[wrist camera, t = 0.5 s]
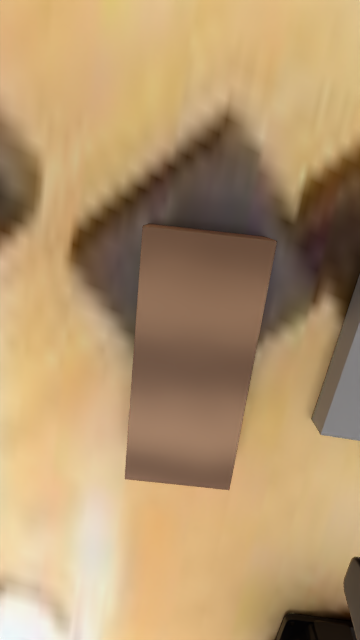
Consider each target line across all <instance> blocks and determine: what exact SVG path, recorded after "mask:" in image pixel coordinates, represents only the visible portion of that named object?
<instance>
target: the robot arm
mask: <svg viewBox="0 0 360 640" xmlns="http://www.w3.org/2000/svg"><path fill="white" fill-rule="evenodd" d="M344 592H345V596H346V600H347V604H348V607H349V611H350V615H351V619H352V622H350V621H343V620H335V619H328V618H321V617H313V616H306V615H299V614H287V615H286V616H285V617H284V619H283V622H282V625H281V627H280V630H279V632H278V635H277V638H276V640H360V557H354V558H352V560H351V562H350V565H349V567H348V570H347V573H346V576H345V578H344Z"/></svg>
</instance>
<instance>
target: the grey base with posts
mask: <svg viewBox="0 0 360 640" xmlns="http://www.w3.org/2000/svg"><path fill="white" fill-rule="evenodd" d="M312 421H313V423H314V424H315V426H316V428H317V429H318V431H319V433H320V434H321V435H326V436H332V437H339V438H345V439H352V440H358V441H360V275H359V278H358V281H357V284H356V287H355V290H354V293H353V296H352V299H351V302H350V305H349V308H348V311H347V314H346V317H345V320H344V323H343V326H342V329H341V332H340V335H339V338H338V341H337V344H336V347H335V350H334V353H333V356H332V359H331V362H330V365H329V368H328V371H327V374H326V377H325V380H324V383H323V386H322V389H321V392H320V395H319V398H318V401H317V404H316V407H315V411H314V414H313V417H312Z"/></svg>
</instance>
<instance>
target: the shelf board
mask: <svg viewBox="0 0 360 640" xmlns="http://www.w3.org/2000/svg"><path fill="white" fill-rule="evenodd" d="M276 244H277V241H275V240H272V239H270V238H267V237H263V236H255V235H246V234H237V233H228V232H219V231H210V230H201V229H192V228H183V227H175V226H166V225H157V224H147V225H144V226H143V230H142V244H141V258H140V272H139V286H138V300H137V314H136V328H135V342H134V356H133V370H132V384H131V398H130V412H129V427H128V441H127V455H126V469H125V479H129V480H139V481H148V482H158V483H167V484H177V485H186V486H196V487H206V488H215V489H225V490H229V489H230V483H231V478H232V473H233V468H234V463H235V457H236V452H237V447H238V442H239V437H240V431H241V426H242V421H243V416H244V411H245V405H246V400H247V395H248V390H249V384H250V379H251V374H252V369H253V364H254V358H255V353H256V348H257V343H258V338H259V332H260V327H261V322H262V317H263V312H264V306H265V301H266V296H267V291H268V286H269V280H270V275H271V270H272V265H273V259H274V254H275V249H276Z"/></svg>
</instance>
